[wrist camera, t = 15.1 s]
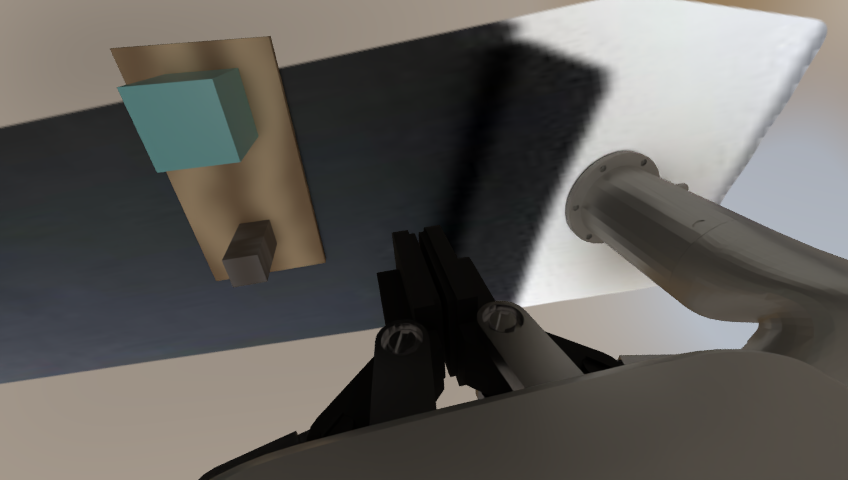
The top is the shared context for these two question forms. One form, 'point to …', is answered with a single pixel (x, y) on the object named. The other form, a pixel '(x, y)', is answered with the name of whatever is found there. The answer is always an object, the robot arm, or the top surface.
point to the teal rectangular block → (192, 118)
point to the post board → (241, 166)
